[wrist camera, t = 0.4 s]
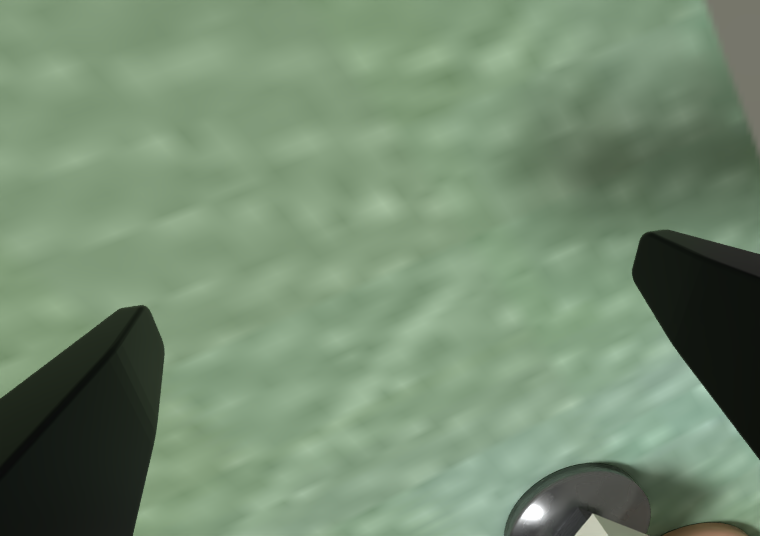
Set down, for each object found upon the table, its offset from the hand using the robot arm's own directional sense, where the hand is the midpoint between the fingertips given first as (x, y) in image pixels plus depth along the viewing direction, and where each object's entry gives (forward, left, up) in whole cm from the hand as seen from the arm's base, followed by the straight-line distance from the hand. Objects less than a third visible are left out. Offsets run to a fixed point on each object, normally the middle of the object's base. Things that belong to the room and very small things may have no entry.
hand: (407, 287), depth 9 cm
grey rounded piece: (-13, -26, -15) cm, 33 cm away
